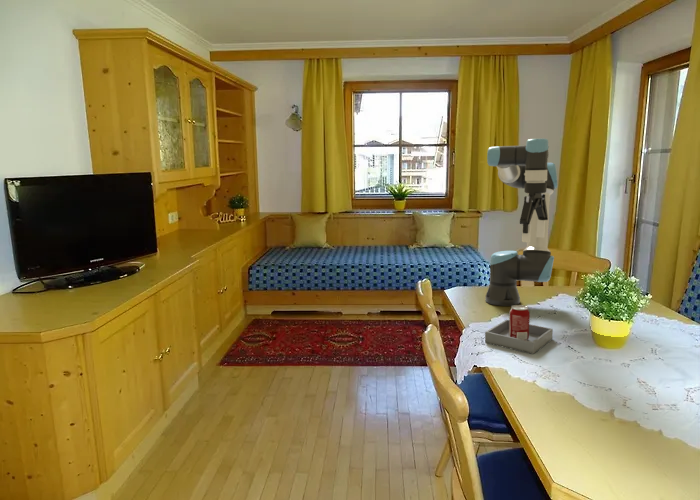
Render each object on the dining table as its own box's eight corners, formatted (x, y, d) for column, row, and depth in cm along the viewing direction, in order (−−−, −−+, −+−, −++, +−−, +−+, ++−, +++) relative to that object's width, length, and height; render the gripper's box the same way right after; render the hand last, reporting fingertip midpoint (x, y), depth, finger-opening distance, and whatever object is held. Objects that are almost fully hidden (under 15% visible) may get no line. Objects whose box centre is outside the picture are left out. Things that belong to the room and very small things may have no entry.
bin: (506, 329, 187) (506, 319, 186) (552, 339, 175) (552, 328, 175) (485, 342, 174) (485, 331, 173) (533, 354, 163) (533, 342, 162)
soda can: (529, 343, 171) (531, 310, 169) (509, 342, 172) (510, 309, 170) (527, 336, 177) (528, 304, 175) (507, 335, 179) (508, 304, 176)
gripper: (538, 180, 189) (536, 234, 192) (511, 183, 170) (509, 243, 174) (558, 180, 184) (555, 236, 187) (532, 183, 165) (530, 245, 169)
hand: (533, 239), depth 181 cm, fingers open, 13 cm apart
